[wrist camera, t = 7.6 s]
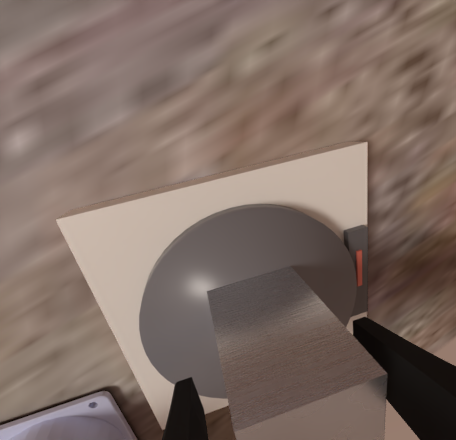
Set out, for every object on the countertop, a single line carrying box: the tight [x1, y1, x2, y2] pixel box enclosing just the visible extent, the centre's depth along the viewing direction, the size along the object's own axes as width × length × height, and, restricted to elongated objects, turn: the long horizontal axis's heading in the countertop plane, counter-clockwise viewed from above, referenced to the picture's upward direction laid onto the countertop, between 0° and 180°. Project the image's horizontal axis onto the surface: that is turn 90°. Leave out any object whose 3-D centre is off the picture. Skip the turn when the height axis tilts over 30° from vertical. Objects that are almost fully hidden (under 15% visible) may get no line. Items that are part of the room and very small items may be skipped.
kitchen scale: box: [56, 142, 368, 430], centre depth 14 cm, size 15×15×2 cm
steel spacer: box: [207, 266, 387, 440], centre depth 10 cm, size 4×4×6 cm
